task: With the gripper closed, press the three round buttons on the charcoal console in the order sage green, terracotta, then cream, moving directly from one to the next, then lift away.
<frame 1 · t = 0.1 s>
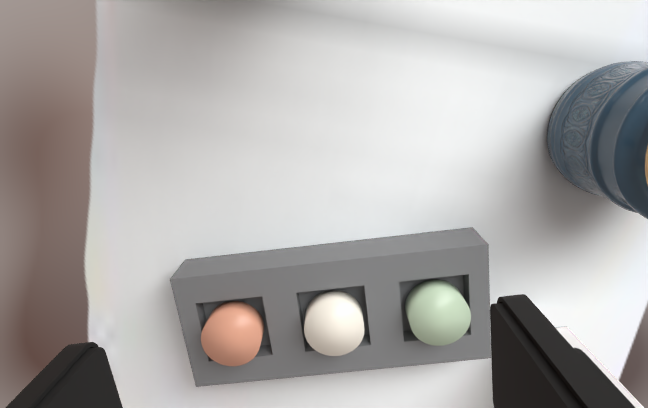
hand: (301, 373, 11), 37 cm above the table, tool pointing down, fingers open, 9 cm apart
console: (333, 296, 51), on the table
canister: (606, 128, 45), on the table
milk carton: (535, 353, 53), on the table
button sage: (437, 312, 45), point 6 cm above the table, slide at 0.0 cm
button cream: (334, 322, 45), point 6 cm above the table, slide at 0.0 cm
button terracotta: (233, 333, 46), point 6 cm above the table, slide at 0.0 cm
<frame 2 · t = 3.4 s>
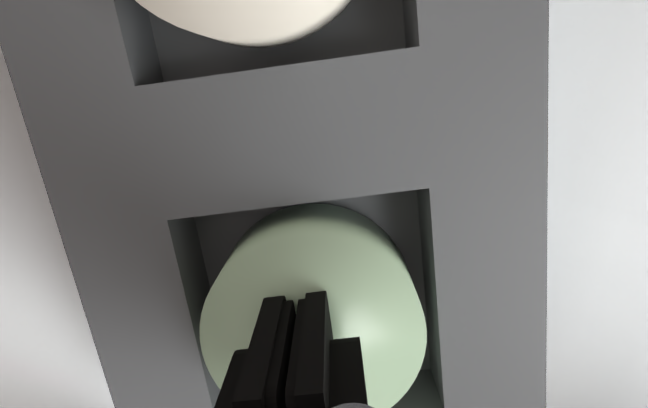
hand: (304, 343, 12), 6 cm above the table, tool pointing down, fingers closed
button sage: (314, 314, 13), point 5 cm above the table, slide at 1.0 cm, touching gripper
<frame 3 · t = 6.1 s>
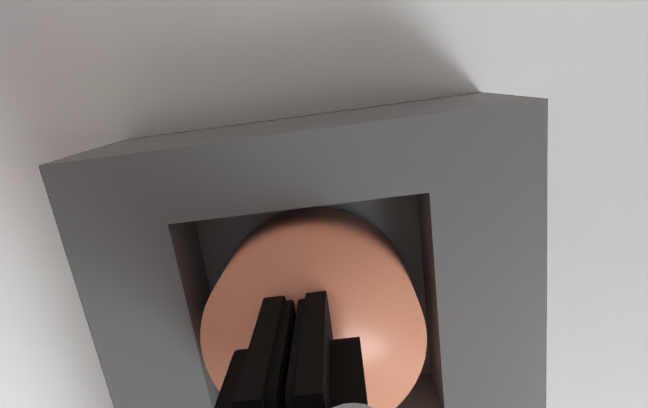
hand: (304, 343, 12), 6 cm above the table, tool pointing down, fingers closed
button terracotta: (315, 318, 13), point 5 cm above the table, slide at 1.0 cm, touching gripper
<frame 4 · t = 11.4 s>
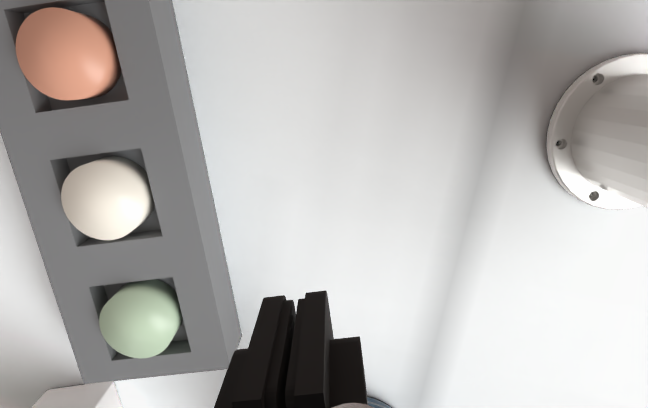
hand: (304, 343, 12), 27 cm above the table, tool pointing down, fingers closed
console: (135, 184, 39), on the table
button sage: (143, 317, 37), point 5 cm above the table, slide at 1.1 cm
button cream: (110, 197, 34), point 5 cm above the table, slide at 1.1 cm
button terracotta: (71, 56, 31), point 5 cm above the table, slide at 1.1 cm
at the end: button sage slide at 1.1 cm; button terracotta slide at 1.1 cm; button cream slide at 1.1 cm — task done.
